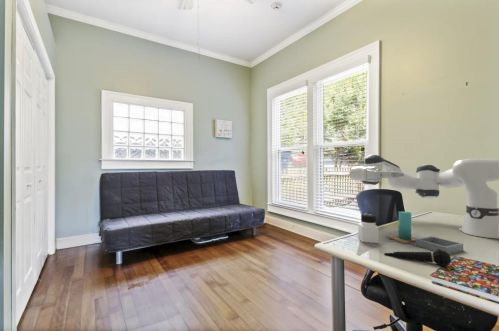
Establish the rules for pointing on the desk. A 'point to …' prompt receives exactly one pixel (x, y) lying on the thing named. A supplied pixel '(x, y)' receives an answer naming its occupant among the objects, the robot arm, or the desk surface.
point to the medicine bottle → (368, 229)
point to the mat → (396, 238)
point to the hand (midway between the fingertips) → (397, 175)
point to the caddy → (439, 244)
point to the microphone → (425, 256)
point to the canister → (405, 225)
